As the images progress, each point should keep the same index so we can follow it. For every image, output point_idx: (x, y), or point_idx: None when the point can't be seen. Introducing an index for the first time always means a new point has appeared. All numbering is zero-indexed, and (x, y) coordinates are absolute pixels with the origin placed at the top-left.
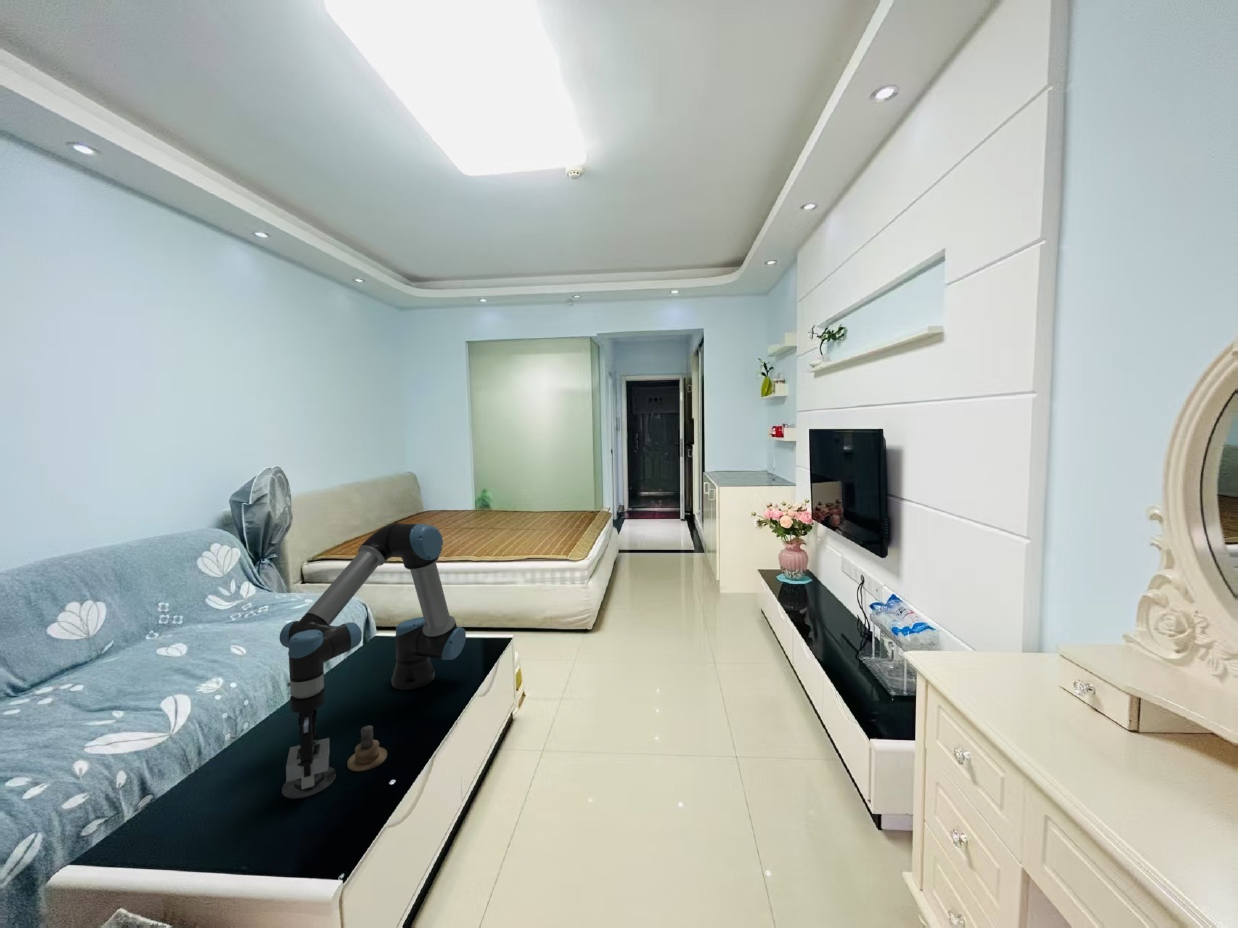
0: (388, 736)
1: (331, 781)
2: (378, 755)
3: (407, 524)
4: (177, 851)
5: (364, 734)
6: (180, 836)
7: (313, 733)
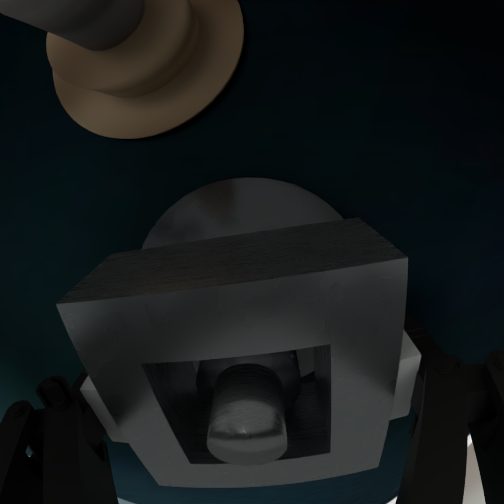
0: (3, 29)
1: (301, 188)
2: None
3: None
4: (399, 474)
5: None
6: (351, 489)
7: (84, 458)
